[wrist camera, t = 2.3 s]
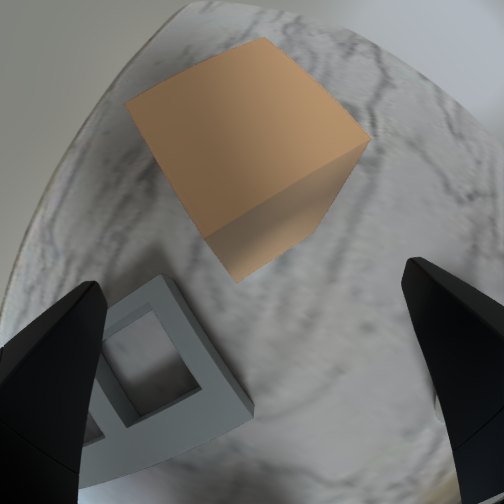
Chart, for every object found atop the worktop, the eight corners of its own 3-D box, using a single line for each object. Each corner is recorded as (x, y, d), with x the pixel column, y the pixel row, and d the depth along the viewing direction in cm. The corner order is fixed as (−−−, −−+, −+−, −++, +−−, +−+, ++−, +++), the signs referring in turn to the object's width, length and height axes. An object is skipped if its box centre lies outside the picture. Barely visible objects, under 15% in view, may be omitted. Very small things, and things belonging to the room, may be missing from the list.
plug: (304, 246, 20) (371, 138, 7) (240, 288, 19) (203, 239, 7) (262, 188, 21) (264, 36, 8) (201, 226, 20) (124, 104, 8)
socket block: (254, 405, 18) (253, 418, 15) (90, 477, 16) (76, 490, 14) (172, 278, 20) (160, 273, 17) (28, 375, 18) (10, 379, 16)
